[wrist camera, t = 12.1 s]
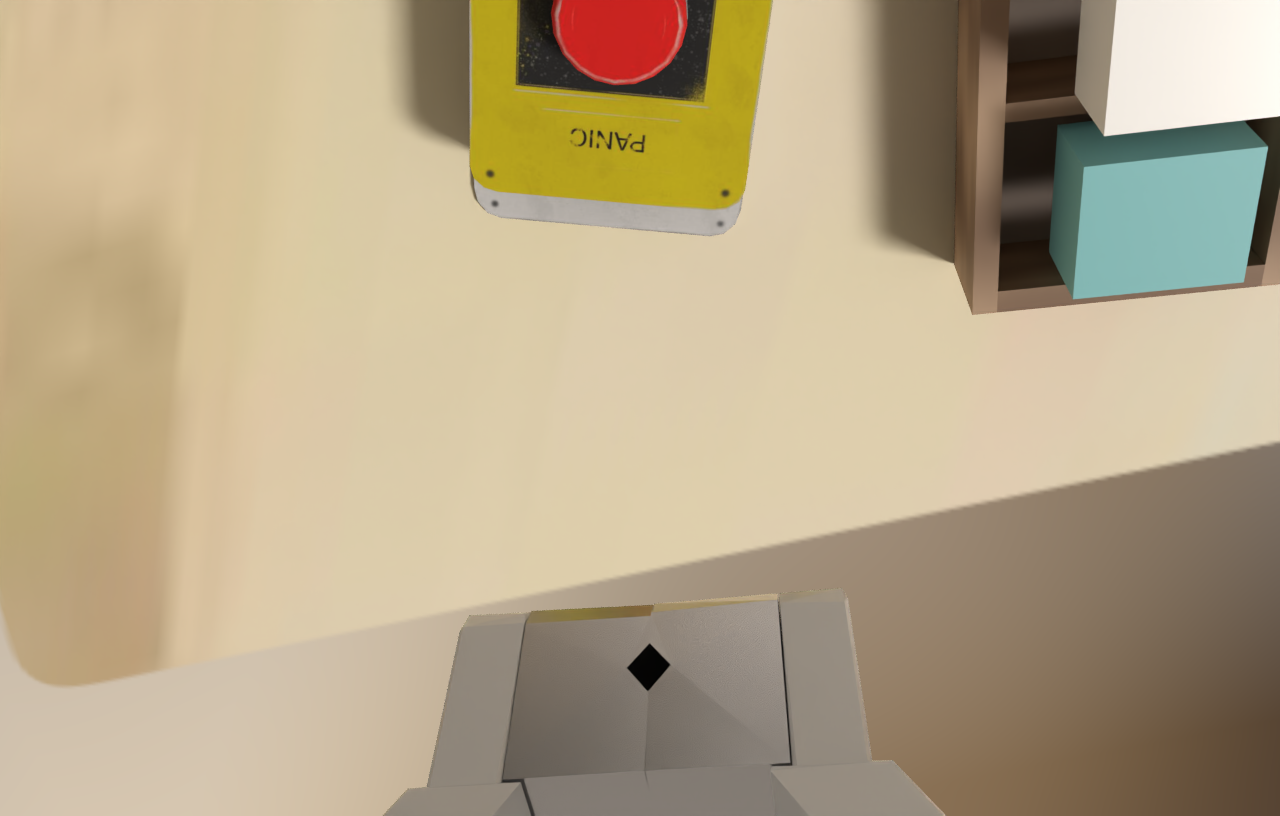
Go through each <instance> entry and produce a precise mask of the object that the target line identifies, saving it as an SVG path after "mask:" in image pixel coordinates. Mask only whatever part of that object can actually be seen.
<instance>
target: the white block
mask: <svg viewBox="0 0 1280 816" xmlns="http://www.w3.org/2000/svg"><path fill="white" fill-rule="evenodd" d="M1075 95H1076V96H1077V98H1078V99H1079V101H1080V102H1081V104H1082V105H1083V107H1084V108H1085V109H1086V111H1087V112H1088V114H1089V115H1090V117H1091V118H1092V120H1093V121H1094V122H1095V124H1096V125H1097V127H1098V128H1099V130H1100V131H1101V133H1102V134H1103V136H1110V135H1119V134H1128V133H1137V132H1146V131H1154V130H1163V129H1172V128H1181V127H1189V126H1198V125H1207V124H1216V123H1224V122H1233V121H1242V120H1251V119H1260V118H1268V117H1277V116H1280V0H1082V3H1081V16H1080V29H1079V42H1078V55H1077V68H1076V81H1075Z"/></svg>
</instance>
